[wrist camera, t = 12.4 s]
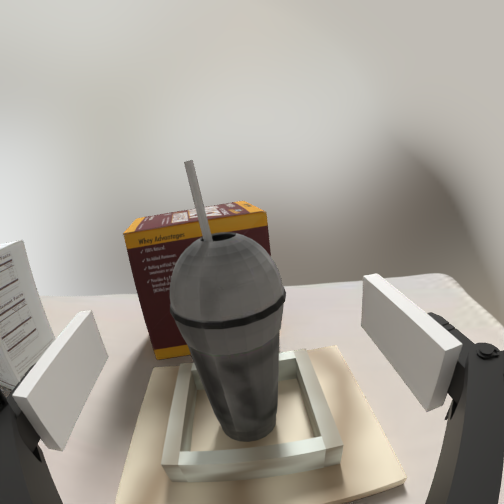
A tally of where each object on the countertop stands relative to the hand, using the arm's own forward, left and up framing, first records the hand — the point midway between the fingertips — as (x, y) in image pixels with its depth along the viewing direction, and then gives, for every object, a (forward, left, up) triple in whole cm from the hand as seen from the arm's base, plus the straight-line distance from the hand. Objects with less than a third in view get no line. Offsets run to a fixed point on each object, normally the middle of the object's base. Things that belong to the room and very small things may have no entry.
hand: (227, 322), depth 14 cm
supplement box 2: (-4, +23, -14) cm, 27 cm away
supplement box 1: (-30, +14, -14) cm, 36 cm away
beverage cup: (0, +5, -13) cm, 14 cm away
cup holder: (0, +5, -14) cm, 15 cm away
